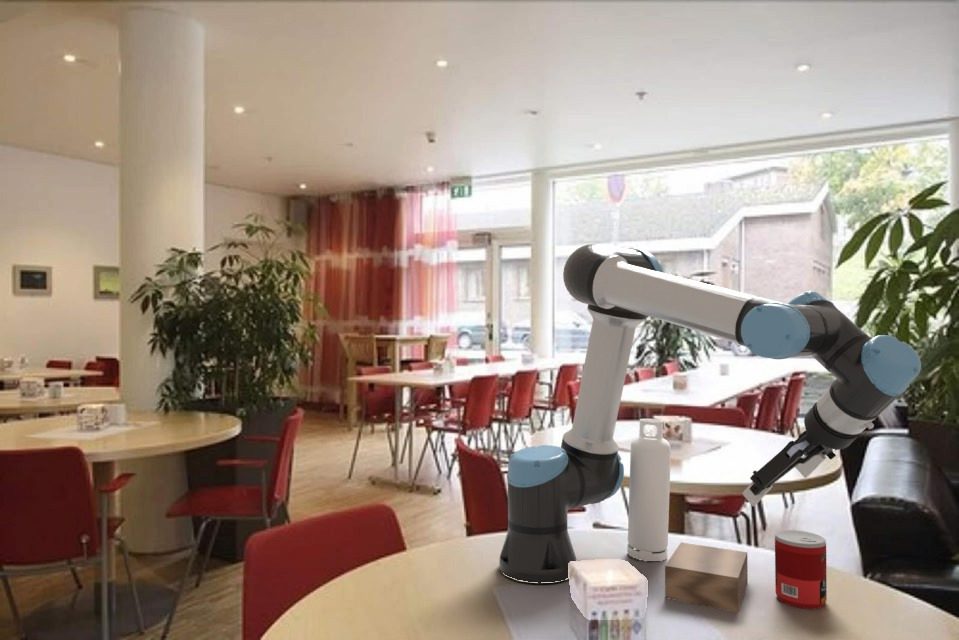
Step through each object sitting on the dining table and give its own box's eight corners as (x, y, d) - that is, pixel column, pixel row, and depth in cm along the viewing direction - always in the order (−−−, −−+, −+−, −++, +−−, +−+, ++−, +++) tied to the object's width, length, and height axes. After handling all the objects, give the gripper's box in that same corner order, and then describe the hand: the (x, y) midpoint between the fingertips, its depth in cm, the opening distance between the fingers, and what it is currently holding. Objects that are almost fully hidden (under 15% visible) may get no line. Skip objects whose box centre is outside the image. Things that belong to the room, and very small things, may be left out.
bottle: (668, 551, 138) (672, 419, 138) (665, 564, 130) (670, 425, 130) (629, 545, 141) (633, 416, 140) (624, 558, 133) (629, 421, 133)
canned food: (833, 611, 109) (832, 545, 109) (781, 607, 110) (781, 542, 110) (818, 593, 116) (818, 531, 116) (770, 589, 118) (770, 528, 118)
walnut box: (665, 600, 114) (665, 565, 114) (681, 573, 127) (681, 542, 127) (738, 614, 108) (738, 577, 109) (747, 584, 121) (747, 552, 121)
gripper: (803, 464, 94) (740, 530, 109) (907, 409, 104) (836, 477, 119) (766, 423, 98) (710, 493, 113) (869, 375, 108) (806, 444, 124)
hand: (775, 485), depth 116 cm, fingers open, 13 cm apart
